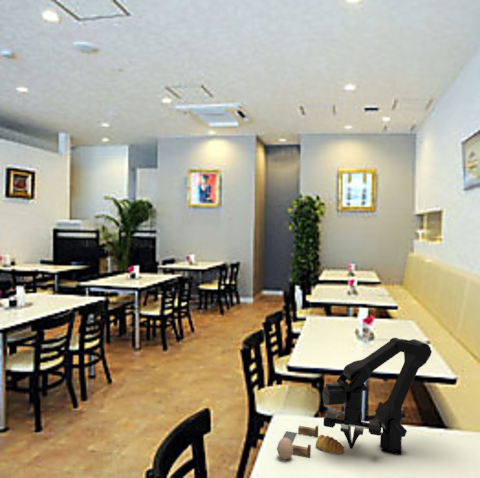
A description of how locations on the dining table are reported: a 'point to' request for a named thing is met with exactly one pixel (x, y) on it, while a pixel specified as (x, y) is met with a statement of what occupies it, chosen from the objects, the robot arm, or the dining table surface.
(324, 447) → the pastry
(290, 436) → the mat
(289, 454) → the egg
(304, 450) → the wooden blocks
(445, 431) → the dining table surface
